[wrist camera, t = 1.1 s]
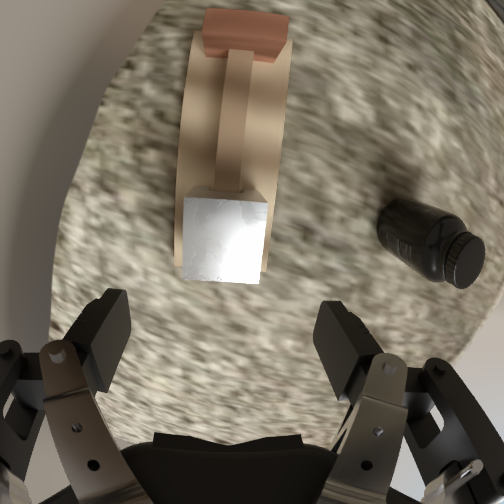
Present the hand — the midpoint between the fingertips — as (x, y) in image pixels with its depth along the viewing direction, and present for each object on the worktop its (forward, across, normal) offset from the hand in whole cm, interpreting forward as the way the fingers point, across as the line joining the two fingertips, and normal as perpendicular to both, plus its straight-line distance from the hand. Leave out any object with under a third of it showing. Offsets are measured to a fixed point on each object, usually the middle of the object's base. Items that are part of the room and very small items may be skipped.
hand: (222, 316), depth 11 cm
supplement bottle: (+17, -20, -1) cm, 26 cm away
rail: (+17, 0, -7) cm, 18 cm away
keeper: (+15, 0, 0) cm, 15 cm away
